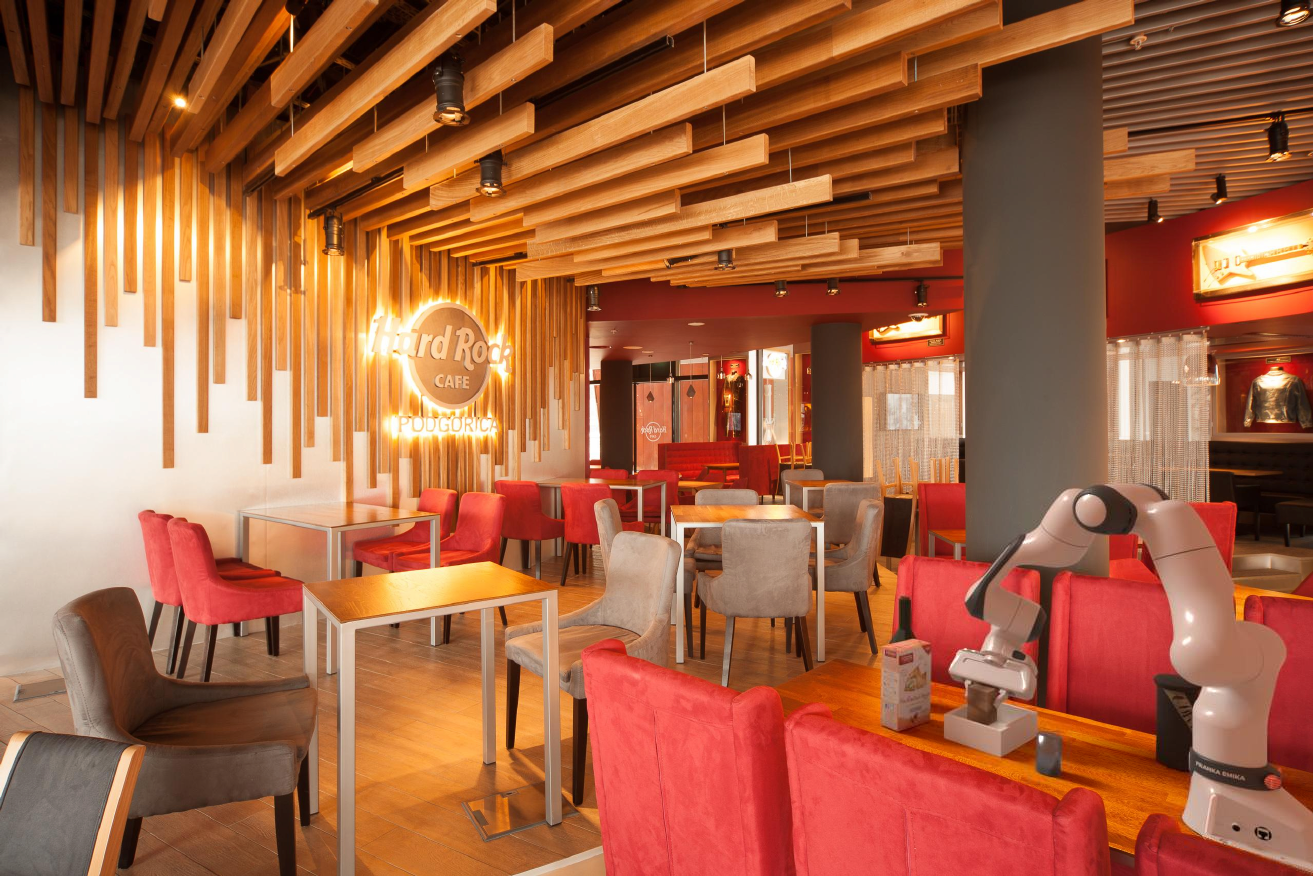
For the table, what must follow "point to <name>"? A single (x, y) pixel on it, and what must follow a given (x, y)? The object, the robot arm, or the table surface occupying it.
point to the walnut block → (981, 704)
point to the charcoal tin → (1048, 753)
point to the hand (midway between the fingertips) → (980, 703)
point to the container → (1174, 720)
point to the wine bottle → (904, 621)
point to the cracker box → (905, 684)
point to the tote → (992, 729)
